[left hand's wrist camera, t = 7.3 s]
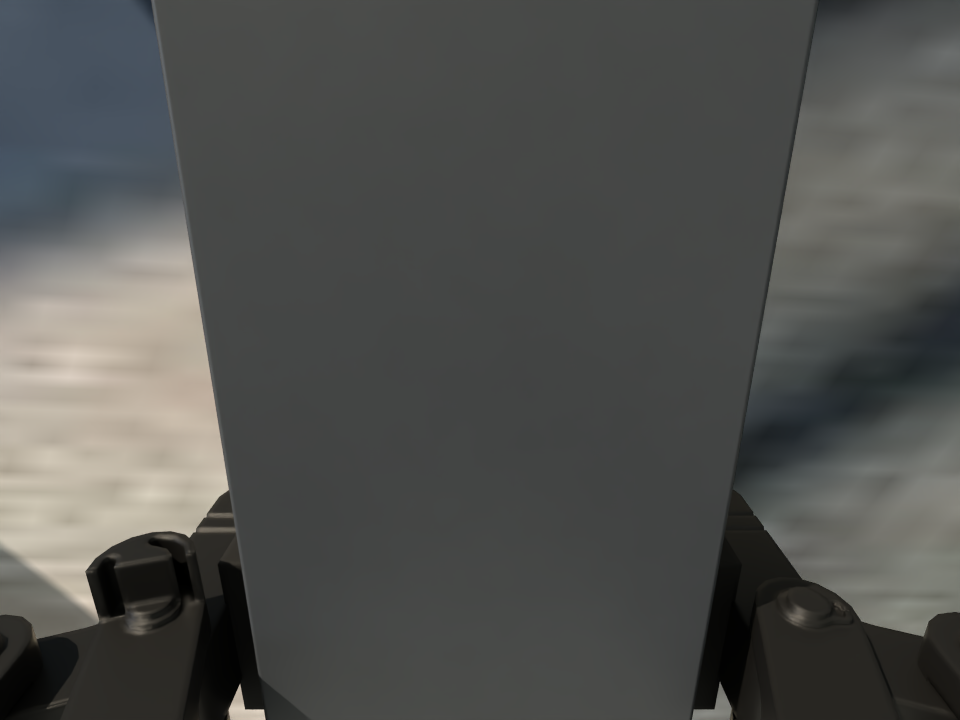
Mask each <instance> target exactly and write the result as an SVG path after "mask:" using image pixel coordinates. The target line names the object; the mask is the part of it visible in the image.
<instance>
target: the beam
mask: <svg viewBox="0 0 960 720" xmlns="http://www.w3.org/2000/svg"><path fill="white" fill-rule="evenodd" d="M151 3H152V9H153V16H154V22H155V28H156V34H157V41H158V47H159V53H160V59H161V66H162V72H163V78H164V85H165V91H166V97H167V103H168V110H169V116H170V122H171V128H172V135H173V141H174V147H175V154H176V160H177V166H178V172H179V179H180V185H181V191H182V197H183V204H184V210H185V216H186V223H187V229H188V235H189V241H190V248H191V254H192V260H193V266H194V273H195V279H196V285H197V292H198V298H199V304H200V310H201V317H202V323H203V329H204V335H205V342H206V348H207V354H208V361H209V367H210V373H211V379H212V386H213V392H214V398H215V405H216V411H217V417H218V423H219V430H220V436H221V442H222V448H223V455H224V461H225V467H226V474H227V480H228V486H229V492H230V499H231V505H232V511H233V517H234V524H235V530H236V536H237V543H238V549H239V555H240V561H241V568H242V574H243V580H244V586H245V593H246V599H247V605H248V612H249V618H250V624H251V630H252V637H253V643H254V649H255V655H256V662H257V668H258V674H259V681H260V687H261V693H262V699H263V706H264V712H265V718H266V720H692V715H693V710H694V704H695V698H696V693H697V687H698V682H699V676H700V670H701V665H702V659H703V653H704V648H705V642H706V636H707V631H708V625H709V619H710V614H711V608H712V602H713V597H714V591H715V586H716V580H717V574H718V569H719V563H720V557H721V552H722V546H723V540H724V535H725V529H726V523H727V518H728V512H729V506H730V501H731V495H732V490H733V484H734V478H735V473H736V467H737V461H738V456H739V450H740V444H741V439H742V433H743V427H744V422H745V416H746V410H747V405H748V399H749V394H750V388H751V382H752V377H753V371H754V365H755V360H756V354H757V348H758V343H759V337H760V331H761V326H762V320H763V314H764V309H765V303H766V298H767V292H768V286H769V281H770V275H771V269H772V264H773V258H774V252H775V247H776V241H777V235H778V230H779V224H780V218H781V213H782V207H783V202H784V196H785V190H786V185H787V179H788V173H789V168H790V162H791V156H792V151H793V145H794V139H795V134H796V128H797V122H798V117H799V111H800V106H801V100H802V94H803V89H804V83H805V77H806V72H807V66H808V60H809V55H810V49H811V43H812V38H813V32H814V26H815V21H816V15H817V10H818V4H819V0H151Z"/></svg>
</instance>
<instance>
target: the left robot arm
mask: <svg viewBox="0 0 960 720" xmlns="http://www.w3.org/2000/svg"><path fill="white" fill-rule="evenodd" d="M85 572H86V576H87V579H88V582H89V586H90V589H91V593H92V596H93V600H94V603H95V607H96V610H97V614H98V617H99V620H100V621H99V624H97V625H94V626H90V627H87V628H84V629H79V630H75V631H71V632H66V633H62V634H58V635H53V636H49V637H45V638H40V639H36V636H35V633H34V630H33V627H32V624H31V623H29V622H28V621H27V620H26V619H24V618H23V617H20V616H12V615H1V616H0V720H230V716H229V711H228V710H229V707H230V705H231V703H232V700H233V698H234V696H235V694H236V691H237V689H238V687H239V685H241V690H242V695H243V700H244V706H245V709H264V706H263V699H262V693H261V687H260V681H259V674H258V668H257V662H256V655H255V649H254V643H253V637H252V630H251V624H250V618H249V612H248V605H247V599H246V593H245V586H244V580H243V574H242V568H241V561H240V555H239V549H238V543H237V536H236V530H235V524H234V517H233V511H232V505H231V499H230V492H229V490H228V491H227V492H226V493H224V494H223V495H221V496H220V497H219V498H218V499H217V501H216V502H215V504H214V505H213V506H212V508H211V509H210V511H209V512H208V513H207V517H206V518H204V519H203V520H202V522H201V523H200V524H199V526H198V527H197V528H196V533H193V534H192V535H191V537H190V538H189V537H187V536H186V535H184V534H180V533H176V532H171V531H168V532H152V533H148V534H144V535H140V536H136V537H132V538H130V539H128V540H125V541H123V542H121V543H119V544H117V545H114V546H112V547H111V548H109V549H108V550H107V551H105V552H104V553H102V554H101V555H100V556H98V557H97V558H96V559H95V560H94V561H93V562H92V564H91V565H90V566H89V568H88V569H87V570H86V571H85ZM720 682H721V685H722V687H723V689H724V691H725V694H726V696H727V698H728V701H729V703H730V705H731V707H732V711H731V716H730V720H960V613H957V612H952V613H944V614H938V615H936V616H935V617H934V618H933V619H931V620H930V621H929V623H928V626H927V629H926V631H925V634H924V637H922V636H918V635H913V634H909V633H905V632H900V631H896V630H892V629H887V628H883V627H879V626H875V625H871V624H868V623H864V622H861V620H860V619H859V617H858V616H857V614H856V613H855V611H854V610H853V608H852V607H851V606H850V605H849V604H848V603H847V602H845V601H844V600H843V599H842V598H841V597H839V596H838V595H837V594H836V593H834V592H832V591H830V590H828V589H826V588H824V587H822V586H820V585H818V584H816V583H812V582H809V581H806V580H802V578H801V577H800V576H799V574H798V573H797V572H796V570H795V569H794V568H793V566H792V565H791V563H790V562H789V561H788V559H787V558H786V557H785V555H784V554H783V552H782V551H781V550H780V548H779V547H778V546H777V544H776V543H775V541H774V540H773V539H772V537H771V536H770V535H769V533H768V532H767V530H764V526H763V525H762V524H761V522H760V521H759V519H758V518H757V517H756V516H754V515H753V511H752V510H751V509H750V507H749V506H748V504H747V503H746V502H745V500H744V499H743V498H742V496H741V495H740V494H739V493H737V492H736V491H734V490H732V495H731V501H730V506H729V512H728V518H727V523H726V529H725V535H724V540H723V546H722V552H721V557H720V563H719V569H718V574H717V580H716V586H715V591H714V597H713V602H712V608H711V614H710V619H709V625H708V631H707V636H706V642H705V648H704V653H703V659H702V665H701V670H700V676H699V682H698V687H697V693H696V698H695V704H694V709H715V704H716V698H717V693H718V688H719V683H720Z"/></svg>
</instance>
